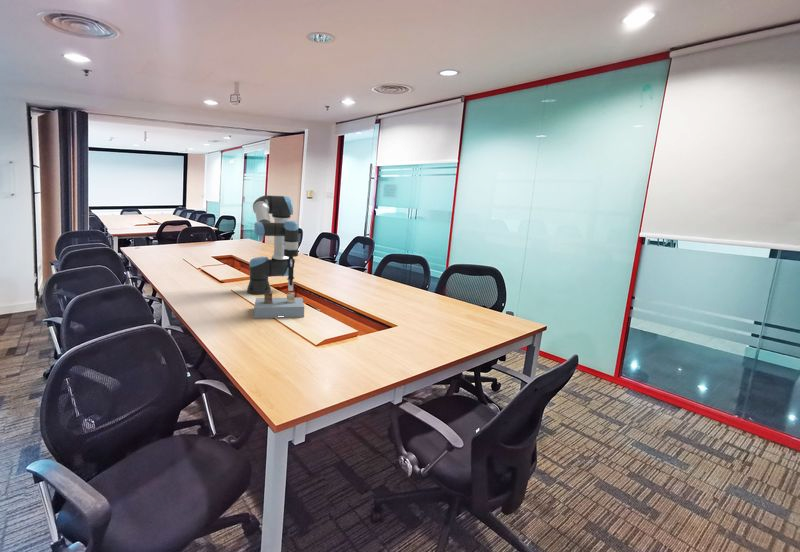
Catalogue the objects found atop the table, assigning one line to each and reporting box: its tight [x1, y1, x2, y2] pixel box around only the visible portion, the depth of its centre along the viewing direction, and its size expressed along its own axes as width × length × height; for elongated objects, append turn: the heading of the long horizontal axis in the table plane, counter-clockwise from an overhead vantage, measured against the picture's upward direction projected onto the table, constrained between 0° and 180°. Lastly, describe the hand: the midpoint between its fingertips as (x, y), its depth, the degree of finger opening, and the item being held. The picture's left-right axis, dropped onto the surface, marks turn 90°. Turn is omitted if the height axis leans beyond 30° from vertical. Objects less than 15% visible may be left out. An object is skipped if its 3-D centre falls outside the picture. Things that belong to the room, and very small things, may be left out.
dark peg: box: [263, 292, 273, 304], centre depth 222 cm, size 4×4×6 cm
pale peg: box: [286, 292, 296, 303], centre depth 225 cm, size 4×4×6 cm
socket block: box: [253, 296, 305, 319], centre depth 224 cm, size 20×26×6 cm
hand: (290, 290), depth 224 cm, fingers closed
